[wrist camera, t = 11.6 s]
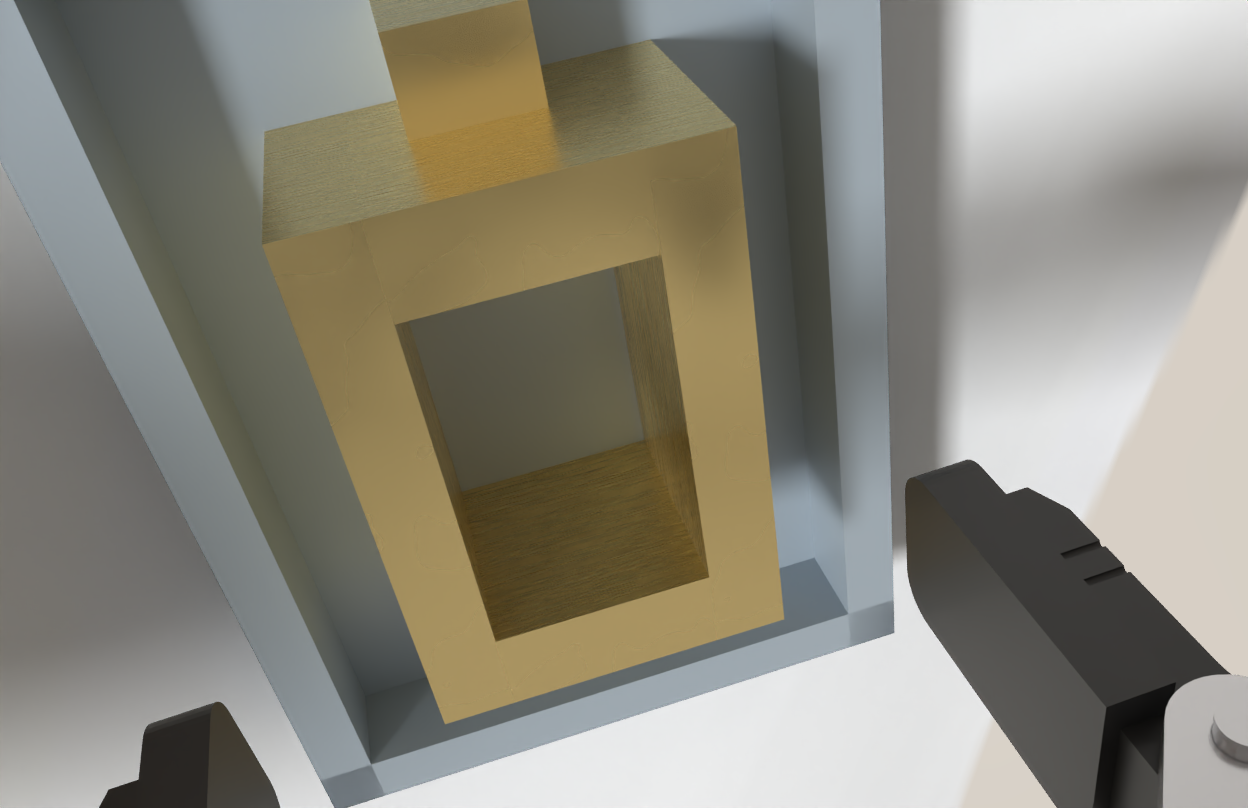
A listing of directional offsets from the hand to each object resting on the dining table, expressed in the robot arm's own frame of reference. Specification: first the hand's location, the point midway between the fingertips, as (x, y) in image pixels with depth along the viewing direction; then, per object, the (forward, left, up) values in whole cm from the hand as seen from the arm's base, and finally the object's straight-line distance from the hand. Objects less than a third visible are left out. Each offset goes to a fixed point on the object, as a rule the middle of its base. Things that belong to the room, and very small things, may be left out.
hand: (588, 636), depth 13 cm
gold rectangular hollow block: (+1, -1, -8) cm, 8 cm away
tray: (+1, -1, -9) cm, 9 cm away
